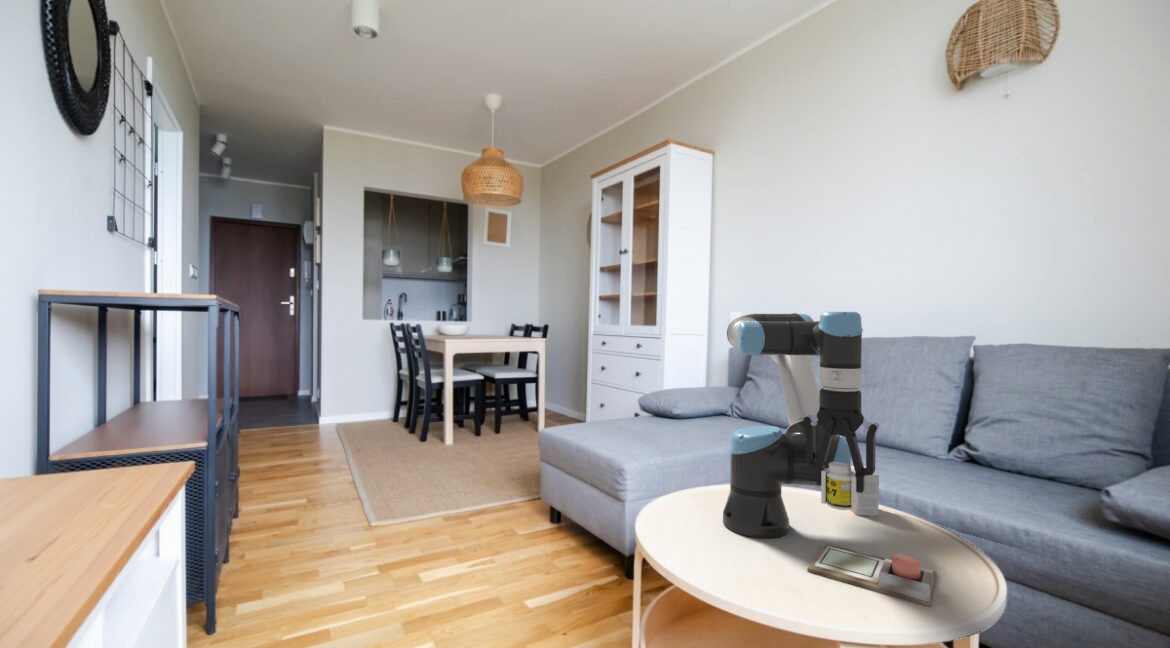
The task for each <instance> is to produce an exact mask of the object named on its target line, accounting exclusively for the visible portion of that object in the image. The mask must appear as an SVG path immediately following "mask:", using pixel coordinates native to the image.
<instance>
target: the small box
mask: <svg viewBox="0 0 1170 648" xmlns="http://www.w3.org/2000/svg"><path fill="white" fill-rule="evenodd" d="M863 466H864V468H866V465H863ZM854 473H855V469H854V465H851V473H850V474H851V475H853V474H854ZM879 487H880V476H879V474H878V473H875V472H874V473H873V474H872V475H866V476H865V485H864V491H863V492H862V493H859V506H858V508H857V509H856V510H852V509H850V511H851V512H852V513H853V514H854V515H855V516H870V517H871V516H872V517H879V505H880V504H879V502H880V501H879V500H880V499H879V498H880V497H879V496H880V491H879V490H880V488H879Z"/></svg>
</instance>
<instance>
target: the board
mask: <svg viewBox="0 0 1170 648" xmlns="http://www.w3.org/2000/svg"><path fill="white" fill-rule="evenodd" d="M806 571H807V572H808V573H812V574H816V575H818V576H822V577H826V578H829V579H833V580H835V581H839V582H843V583H846V584H850V585H853V586H857V587H860V588H864V589H867V590H871V591H874V592H877V593H880V594H884V595H887V596H891V597H893V598H894V597H895V598H897V599H901V600H904V601H908V602H912V603H916V604H919V605H922V606H925V607H930V608H931V607H932V600H933V597H934V590H935V586H936V582H937V581H936V579H937V575H938V574H937V573H938V571H936V570H933V569H929V568H924V567H921V569H920V581H919V582H918V581H914V580H910V579H906V578H903V577H899V576H895V575H892V559H888V558H885V557H880V556H876V555H873V554H869V553H866V552H861V551H857V550H853V549H848V548H845V547H841V546H838V545H837V546H836V545H833V544H829V543H824V544H823V545H822V547H821V548H820V549H819V551H818V552H817V554H816V556H815V557H814V558H813V559H812V561H811V562H810V563H809V565H808V567H807V570H806Z"/></svg>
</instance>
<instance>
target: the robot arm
mask: <svg viewBox="0 0 1170 648" xmlns="http://www.w3.org/2000/svg"><path fill="white" fill-rule="evenodd" d="M863 330H864V328H863V325H862V315H861V314H860V312H857V311H823V312H822V313H821V314H820V315H819V320H817V321H814V320H813V318H812V317H811V316H810V315H808V314H806V313H796V312H792V313H751V314H750V313H749V314H746V315H742V316H739V317H737V318H735V319H733V320H732V321H731V322H730V323H729V324H728V326H727V328H726V338H727V341H728V342H729V344H730V345H731V346H732V347H733V348H734V349H737V350H738V351H739V354H741V355H747V356H748V355H750V356H770V358H771V359H772V361H773V362H775V363H776V364H777V366H778V372H779V376H780V377H779V378H780V382H781V387H782V392H783V397H784V402H785V406H786V412H787V416H788V417H787V418H788V423H789V425H788V427H787V428H786V429H785V433H783V432H782V430H781V428H779V427H778V426H773V425H754V426H746V427H743V428H740V429H737V430H735V431H734V432H733V433H732V434H731V437H730V447H729V453H730V478H729V479H730V484H729V485H730V488H729V489H730V491H729V494H728V497H727V499H726V502H725V505H724V508H723V511H722V523H723V525H724V526H725V527H726V528H727V529H728V530H730V531H732V532H733V533H737V534H739V535H743V536H747V537H753V538H758V539H759V538H761V539H771V538H772V539H773V538H780V537H783V536H785V535H787V534H788V533H789V532H790V519H789V515H788V512H787V508H786V506H785V503H784V500H783V497H782V485H798V486H799V485H800V486H813V487H814V486H815V487H816V486H817V487H820V488H821V493H820V494H821V495H820V496H821V499H820V500H821V502H820V503H821V504H826V505H827V473H828V472H830V471H829V469H828V467H829V463H830V462H841V463H846V464H849V465H850V466H854V469H855V473H854V474H853V475H852V476H851V509H852V510H856V509H857V508H858V506H859V493H862V492H863V491H864V485H865V476H866V475H872V474H873V473H875V472H876V434H877V432H878V430H879V427H880V425H879V424H878V423H877V422H872V421H869V420H867V419H865V416H864V415H863V414H862V392H861V391H860V390H859V389H860V388H862V386H863V383H862V378H863V377H862V368H863V367H862V348H863V347H862V343H863V340H862V339H863V337H862V336H863V335H862V333H863ZM812 356H815V357H817V356H819V386H821V387H822V388H820V389H819V387H818V384H817V380H816V376H815V373H814V368H813V365H812V361H811V357H812ZM861 426H863V430H864V432H865V434H866V435H865V465H864V461H863V458H862V456H861V455H862V454H861V451H860V448H859V442H858V439H857V434H856V432H857V430H858V429H859V428H860V427H861ZM864 466H865V467H866V468H864ZM851 509H850V510H851ZM852 510H851V511H852Z"/></svg>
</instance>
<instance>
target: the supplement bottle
mask: <svg viewBox="0 0 1170 648" xmlns="http://www.w3.org/2000/svg"><path fill="white" fill-rule="evenodd" d="M851 466H852V465H851ZM851 466H850V465H849V464H846V463H841V462H830V463H829V467H828V469H829V471H830V472H828V473H827V503H826V505H827V506H828V507H830V508H832V509H835V510H837V511H839V510H840V511H848V510H850V511H851V476H852V475H851V474H850V473H851Z"/></svg>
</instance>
